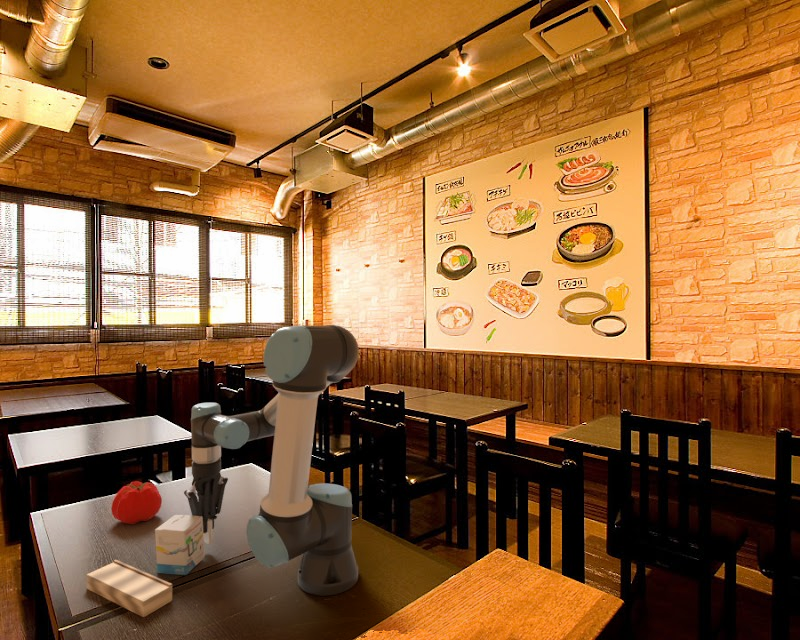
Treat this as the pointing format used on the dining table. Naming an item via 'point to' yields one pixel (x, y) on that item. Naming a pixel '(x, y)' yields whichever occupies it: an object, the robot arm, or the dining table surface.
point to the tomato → (136, 502)
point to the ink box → (179, 544)
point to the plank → (130, 587)
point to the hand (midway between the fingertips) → (207, 542)
